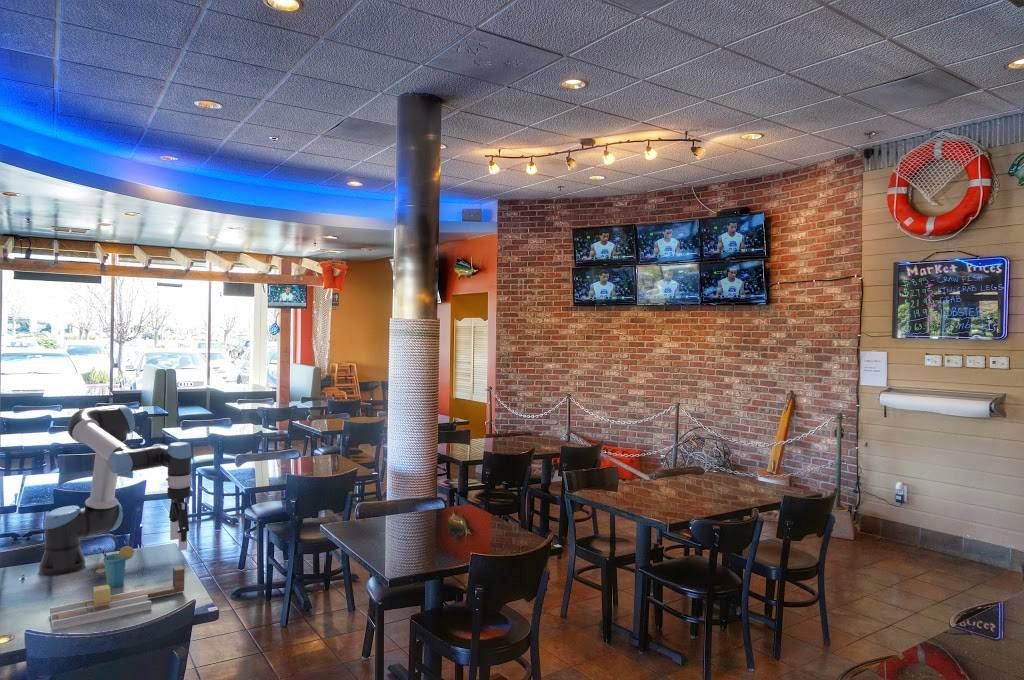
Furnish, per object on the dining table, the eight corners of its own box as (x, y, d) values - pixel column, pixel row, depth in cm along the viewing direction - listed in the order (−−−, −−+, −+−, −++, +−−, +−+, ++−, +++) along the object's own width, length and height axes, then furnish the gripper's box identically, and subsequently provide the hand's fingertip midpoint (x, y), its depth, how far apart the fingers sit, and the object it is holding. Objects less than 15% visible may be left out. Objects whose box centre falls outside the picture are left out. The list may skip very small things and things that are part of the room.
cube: (93, 600, 237) (93, 587, 237) (108, 597, 240) (108, 584, 240) (94, 604, 234) (95, 591, 234) (110, 601, 237) (110, 588, 236)
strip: (85, 606, 236) (85, 583, 236) (181, 587, 254) (181, 565, 254) (87, 610, 233) (87, 587, 232) (184, 591, 251) (184, 569, 251)
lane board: (50, 615, 231) (50, 607, 231) (144, 596, 248) (144, 588, 248) (53, 630, 221) (53, 621, 221) (151, 609, 238) (151, 601, 238)
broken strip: (57, 619, 226) (57, 614, 226) (108, 608, 235) (108, 604, 235) (58, 623, 223) (58, 618, 223) (110, 612, 232) (110, 608, 231)
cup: (92, 593, 250) (92, 552, 249) (88, 586, 256) (88, 546, 255) (135, 584, 258) (135, 544, 258) (131, 578, 264) (131, 539, 264)
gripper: (160, 480, 258) (160, 536, 259) (175, 495, 238) (174, 556, 239) (182, 477, 262) (182, 533, 263) (198, 492, 242) (198, 552, 243)
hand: (178, 544), depth 251 cm, fingers open, 13 cm apart
